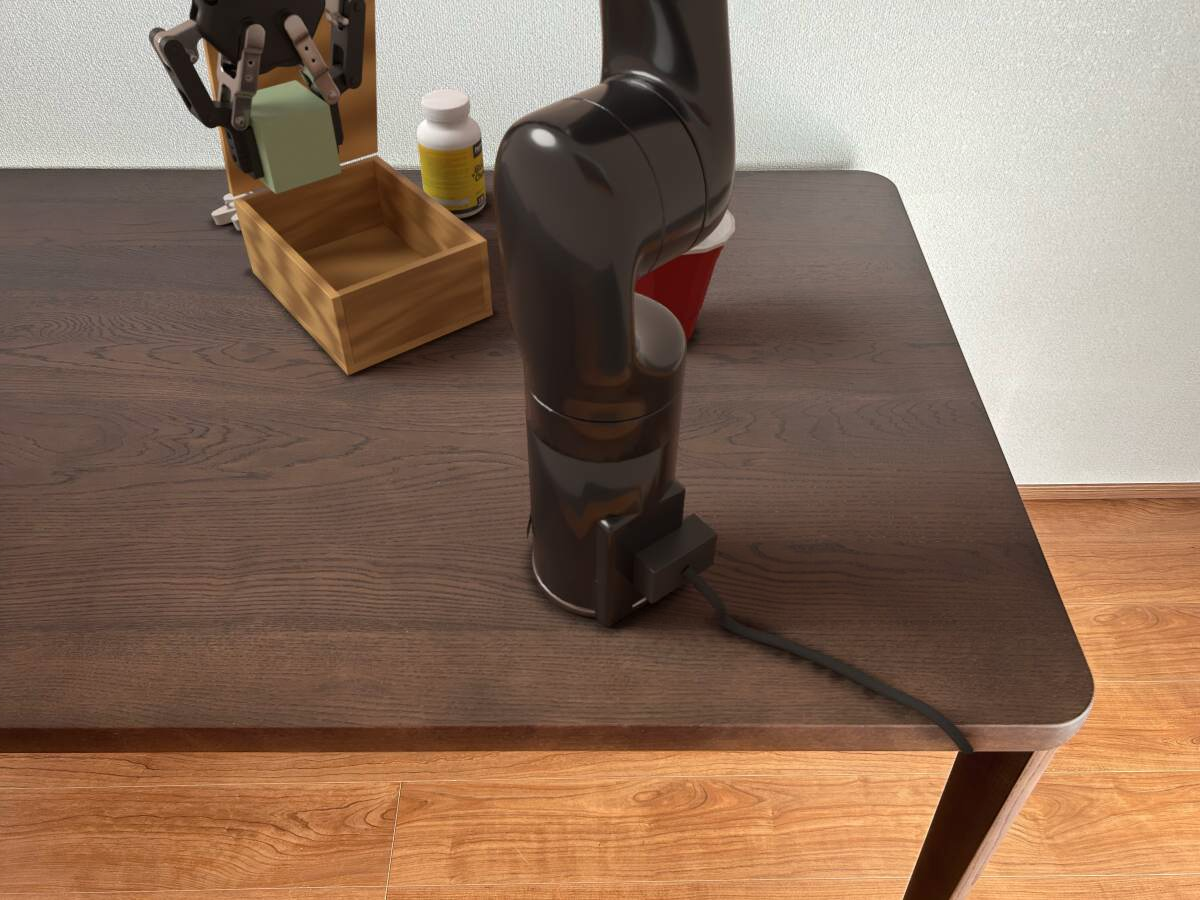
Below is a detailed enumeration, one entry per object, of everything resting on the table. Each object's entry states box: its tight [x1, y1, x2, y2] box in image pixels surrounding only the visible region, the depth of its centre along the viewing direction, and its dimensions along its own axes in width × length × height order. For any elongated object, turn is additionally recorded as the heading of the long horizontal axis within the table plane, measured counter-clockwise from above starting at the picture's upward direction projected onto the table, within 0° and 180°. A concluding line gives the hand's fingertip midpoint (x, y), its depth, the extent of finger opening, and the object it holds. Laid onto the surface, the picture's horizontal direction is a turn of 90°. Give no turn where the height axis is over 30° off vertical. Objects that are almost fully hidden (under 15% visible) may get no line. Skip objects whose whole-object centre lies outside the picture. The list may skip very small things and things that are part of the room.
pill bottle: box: [416, 88, 487, 219], centre depth 99 cm, size 6×6×12 cm
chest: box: [233, 154, 494, 376], centre depth 88 cm, size 20×15×8 cm
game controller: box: [211, 191, 254, 231], centre depth 101 cm, size 6×12×3 cm, turn 134°
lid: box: [201, 0, 379, 197], centre depth 82 cm, size 20×15×1 cm
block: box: [249, 80, 341, 194], centre depth 67 cm, size 5×5×5 cm
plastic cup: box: [634, 209, 736, 343], centre depth 83 cm, size 11×11×12 cm
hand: (292, 161), depth 68 cm, fingers closed on block, 5 cm apart
